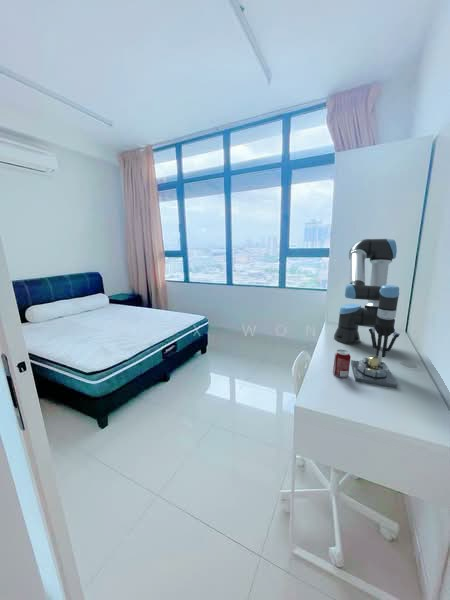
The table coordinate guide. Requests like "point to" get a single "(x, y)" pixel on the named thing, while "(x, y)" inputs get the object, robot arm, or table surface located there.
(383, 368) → the octagonal ring panel
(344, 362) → the soda can
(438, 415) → the table surface
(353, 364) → the base plate
